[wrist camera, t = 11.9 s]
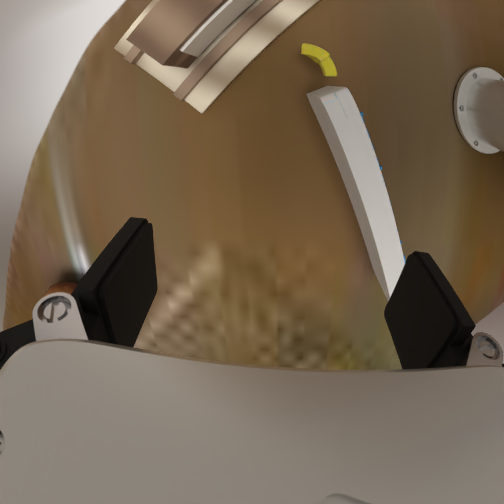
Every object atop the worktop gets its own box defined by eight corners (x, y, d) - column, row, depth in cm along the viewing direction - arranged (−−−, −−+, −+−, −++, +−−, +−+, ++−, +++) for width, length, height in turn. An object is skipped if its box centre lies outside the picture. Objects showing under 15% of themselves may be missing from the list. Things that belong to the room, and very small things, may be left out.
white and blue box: (394, 260, 42) (419, 304, 34) (372, 269, 43) (393, 315, 35) (315, 42, 27) (335, 28, 19) (284, 53, 28) (293, 42, 20)
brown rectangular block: (243, -38, 21) (236, -72, 13) (277, -15, 22) (282, -44, 15) (157, 46, 26) (123, 38, 19) (189, 70, 28) (164, 67, 20)
